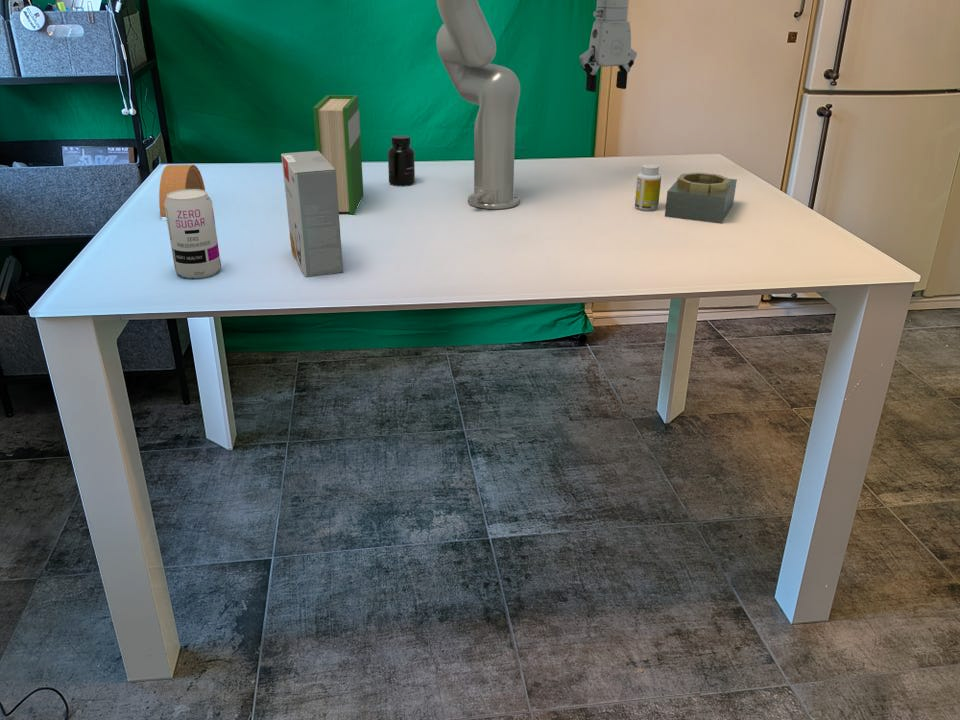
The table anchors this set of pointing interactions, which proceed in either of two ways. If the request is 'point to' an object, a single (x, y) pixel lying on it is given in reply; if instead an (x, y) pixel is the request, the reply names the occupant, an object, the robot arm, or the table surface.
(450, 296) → the table surface
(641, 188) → the supplement bottle
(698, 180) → the grey block with ring
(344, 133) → the hardback book
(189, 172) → the arch
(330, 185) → the hard drive box
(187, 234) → the supplement can
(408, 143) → the supplement bottle
